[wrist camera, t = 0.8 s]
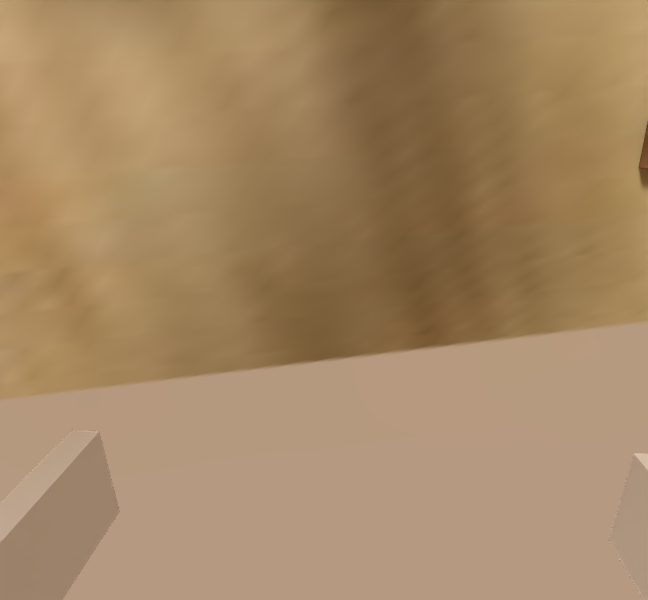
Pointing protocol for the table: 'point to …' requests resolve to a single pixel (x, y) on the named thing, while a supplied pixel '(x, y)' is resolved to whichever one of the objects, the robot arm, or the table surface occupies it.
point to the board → (644, 152)
